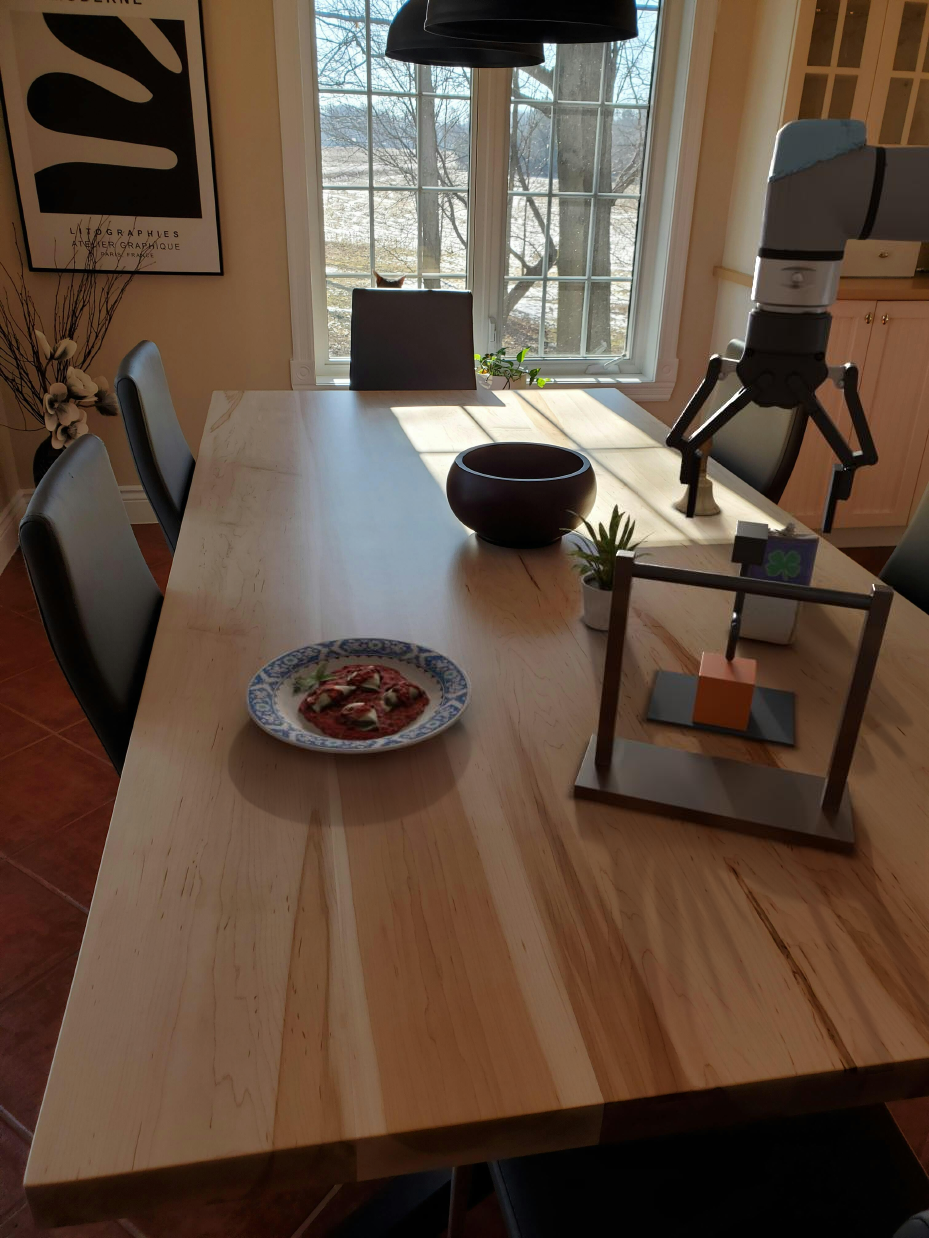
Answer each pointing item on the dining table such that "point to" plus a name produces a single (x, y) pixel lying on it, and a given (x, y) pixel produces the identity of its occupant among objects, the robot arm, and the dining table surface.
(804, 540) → the flask
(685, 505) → the hand bell
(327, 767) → the dining table surface
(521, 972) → the dining table surface
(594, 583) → the house plant
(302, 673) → the ceramic plate
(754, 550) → the orange block with hook
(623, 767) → the rack
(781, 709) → the mat
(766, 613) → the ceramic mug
